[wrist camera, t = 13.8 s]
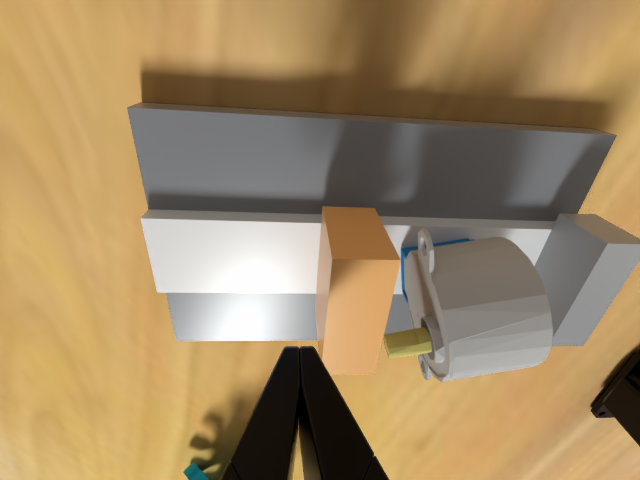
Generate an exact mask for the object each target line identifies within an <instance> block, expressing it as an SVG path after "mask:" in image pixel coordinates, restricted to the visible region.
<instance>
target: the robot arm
mask: <svg viewBox="0 0 640 480" xmlns="http://www.w3.org/2000/svg"><path fill="white" fill-rule="evenodd" d="M591 412H592V413H593V415H594V416H595V417H596V418H611V417H615V418H616V420H617V421H618V422H619V423H620V424H621V425H622V427H623V428H624V429H625V430H626V431H627V432H628V433H629V435H630V436H631V437H632V438H633V439H634V440H635V442H636V443H637V444H638V445H639V446H640V352H638V353H636V354H634V355H633V356H632V357H631V359H630V360H629V361H628V362H627V364H626V365H625V366H624V368H623V369H622V370H621V371H620V373H619V374H618V375H617V377H616V378H615V379H614V380H613V382H612V383H611V384H610V386H609V387H608V388H607V389H606V391H605V392H604V393H603V395H602V396H601V397H600V398H599V400H598V401H597V402H596V404H595V405H594V406H593V407H592V409H591ZM298 425H299V438H300V447H301V455H302V464H303V472H304V480H389V478H388V477H387V475H386V473H385V472H384V470H383V468H382V466H381V465H380V463H379V461H378V459H377V457H376V456H374V452H373V451H372V449H371V447H370V445H369V443H368V442H367V440H366V438H365V436H364V435H363V433H362V431H361V429H360V427H359V426H358V424H357V422H356V420H355V418H354V417H353V415H352V413H351V411H350V410H349V408H348V406H347V404H346V402H345V401H344V399H343V397H342V395H341V394H340V392H339V390H338V388H337V386H336V385H335V383H334V381H333V379H332V378H331V376H330V374H329V372H328V370H327V369H326V367H325V365H324V363H323V361H322V360H321V358H320V356H319V354H318V353H317V351H316V349H315V348H314V347H313V346H301V347H300V348H299V347H297V346H286V347H284V349H283V351H282V353H281V355H280V357H279V359H278V361H277V363H276V365H275V367H274V369H273V371H272V373H271V375H270V378H269V380H268V382H267V384H266V386H265V388H264V390H263V392H262V394H261V396H260V398H259V400H258V402H257V404H256V406H255V409H254V411H253V413H252V415H251V417H250V419H249V421H248V423H247V425H246V427H245V429H244V431H243V433H242V435H241V437H240V440H239V442H238V444H237V446H236V448H235V450H234V452H233V454H232V456H231V458H230V462H229V463H228V464H227V466H226V468H225V470H224V472H223V474H222V476H221V478H220V480H292V479H293V470H294V461H295V452H296V443H297V433H298Z"/></svg>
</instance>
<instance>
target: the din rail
mask: <svg viewBox="0 0 640 480" xmlns="http://www.w3.org/2000/svg"><path fill="white" fill-rule="evenodd" d="M127 109H128V114H129V119H130V124H131V128H132V133H133V138H134V143H135V147H136V152H137V157H138V162H139V166H140V171H141V176H142V181H143V185H144V190H145V195H146V200H147V204H148V210H147V212H146V213H145V214H144V215H143V216H142V217H141V218H140V219H141V223H142V228H143V232H144V236H145V241H146V245H147V249H148V254H149V258H150V263H151V267H152V271H153V276H154V280H155V285H156V289H157V293H166V295H167V299H168V304H169V309H170V314H171V318H172V323H173V328H174V333H175V337H176V341H280V340H317V328H316V316H315V298H316V285H317V272H318V259H319V246H320V233H321V220H322V207H323V206H330V207H361V208H375V210H376V212H377V214H378V216H379V218H380V220H381V222H382V224H383V226H384V228H385V230H386V232H387V234H388V236H389V238H390V240H391V242H392V243H393V245H394V247H395V249H396V251H397V253H398V255H399V257H400V259H401V249H403V248H409V247H415V246H418V232H419V231H420V230H421V229H426V230H428V232H429V234H430V236H431V239H432V243H433V244H434V243H441V242H447V241H453V240H460V239H466V238H469V239H470V240H471V239H474V240H479V239H485V238H491V237H503V238H506V239H509V240H511V241H512V242H513V243H515V244H516V245H517V246H518V247H519V248H520V249H521V250H522V251H523V252H524V253H525V254H526V255H527V256H528V258H529V259H530V260H531V262H532V264H533V265H534V267H535V269H536V270H537V272H538V274H539V275H540V277H541V279H542V282H543V285H544V288H545V291H546V294H547V297H548V300H549V303H550V306H551V314H552V324H553V340H552V346H584V344H585V342H586V341H587V339H588V338H589V336H590V335H591V333H592V332H593V330H594V329H595V327H596V326H597V324H598V323H599V321H600V320H601V318H602V317H603V315H604V314H605V312H606V311H607V309H608V307H609V306H610V304H611V303H612V301H613V300H614V298H615V297H616V295H617V294H618V292H619V291H620V289H621V288H622V286H623V285H624V283H625V282H626V280H627V279H628V277H629V275H630V274H631V272H632V271H633V269H634V268H635V266H636V265H637V263H638V262H639V260H640V239H639V238H637V237H635V236H633V235H632V234H630V233H628V232H626V231H624V230H623V229H621V228H619V227H617V226H615V225H614V224H612V223H610V222H608V221H606V220H605V219H603V218H601V217H599V216H597V215H596V214H577V213H578V211H579V209H580V207H581V205H582V203H583V201H584V199H585V197H586V195H587V193H588V191H589V189H590V187H591V185H592V183H593V181H594V179H595V177H596V175H597V173H598V171H599V169H600V167H601V165H602V163H603V161H604V160H605V158H606V156H607V154H608V152H609V150H610V148H611V146H612V144H613V142H614V140H615V138H616V136H617V135H614V134H610V133H606V132H603V131H599V130H595V129H589V128H572V127H555V126H538V125H521V124H504V123H487V122H470V121H453V120H436V119H419V118H402V117H385V116H367V115H350V114H333V113H316V112H299V111H282V110H265V109H248V108H231V107H214V106H197V105H180V104H163V103H146V102H140V103H138V104H135V105H132V106H130V107H127ZM424 245H426V243H425V240H424ZM409 311H410V309H409V303H407V302H406V300H405V297H404V295H403V292H402V280H401V262H400V266H399V271H398V275H397V280H396V284H395V288H394V293H393V297H392V302H391V306H390V311H389V315H388V319H387V324H386V328H385V333H384V335H385V334H390V333H395V332H400V331H405V330H410V329H413V325H412V321H411V317H410V313H409ZM383 340H384V337H383Z"/></svg>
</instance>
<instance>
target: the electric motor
mask: <svg viewBox="0 0 640 480" xmlns="http://www.w3.org/2000/svg"><path fill="white" fill-rule="evenodd" d="M424 240H425V243H426V245H424ZM401 280H402V292H403V295H404V297H405V300H406V302H407V303H409V309H410V311H409V313H410V317H411V321H412V325H413V329H410V330H405V331H400V332H395V333H390V334H385V335H384V344H385V348H386V351H387V354H388V357H389V358H397V357H404V356H412V355H418V359H419V364H420V368H421V371H422V374H423V377H424V378H425V379H426V380H430V379H431V373H432V374H433V376H434V377H435V378H436V379H438V380H439V381H441V382H444V381H450V380H456V379H462V378H468V377H474V376H480V375H487V374H493V373H499V372H505V371H511V370H517V369H523V368H529V367H535V366H537V365H539V364H540V363H542V362H544V361H545V359H546V358H547V357H548V355H549V353H550V350H551V347H552V340H553V324H552V314H551V306H550V303H549V300H548V297H547V294H546V291H545V288H544V285H543V282H542V279H541V277H540V275H539V274H538V272H537V270H536V269H535V267H534V265H533V264H532V262H531V260H530V259H529V258H528V256H527V255H526V254H525V253H524V252H523V251H522V250H521V249H520V248H519V247H518V246H517V245H516V244H515V243H513V242H512V241H511V240H509V239H506V238H503V237H491V238H485V239H479V240H474V239H471V240H470V239H469V238H466V239H460V240H453V241H447V242H441V243H434V244H433V243H432V239H431V236H430V234H429V232H428V230H426V229H421V230H420V231H419V232H418V246H415V247H409V248H403V249H401Z"/></svg>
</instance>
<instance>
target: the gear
mask: <svg viewBox="0 0 640 480" xmlns="http://www.w3.org/2000/svg"><path fill="white" fill-rule="evenodd" d="M184 474H185V475H186V476H187V478H188V479H189V480H209V479H208V478H207V477H206V475H205V474H204V473H203V472H202V470H200V469H199V467H198V466H197V465H196V464H195V462H193V463H192V464H191V465H190V466H189V467H188V468H187V469H186V470H185V471H184Z"/></svg>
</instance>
